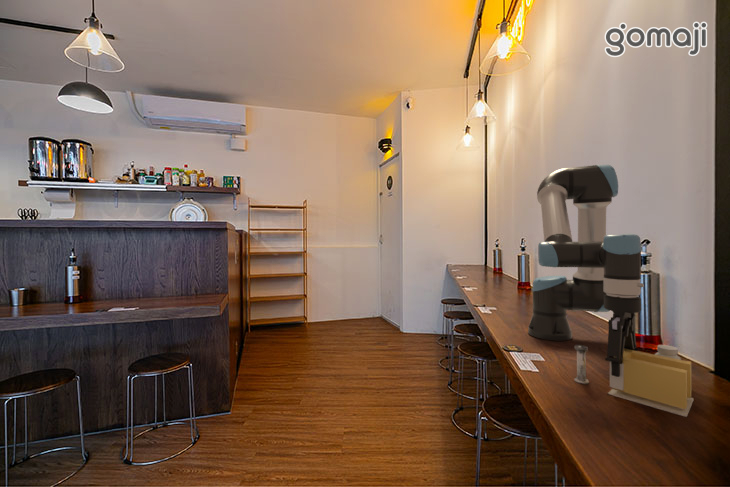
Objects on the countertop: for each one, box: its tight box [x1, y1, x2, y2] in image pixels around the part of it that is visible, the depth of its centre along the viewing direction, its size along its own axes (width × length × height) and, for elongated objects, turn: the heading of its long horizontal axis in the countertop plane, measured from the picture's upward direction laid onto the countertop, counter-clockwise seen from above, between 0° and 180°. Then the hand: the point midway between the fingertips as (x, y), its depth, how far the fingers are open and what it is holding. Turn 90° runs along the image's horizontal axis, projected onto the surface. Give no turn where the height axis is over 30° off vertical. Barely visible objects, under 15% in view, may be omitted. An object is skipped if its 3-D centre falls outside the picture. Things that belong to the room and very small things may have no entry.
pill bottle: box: [654, 344, 682, 360], centre depth 87 cm, size 5×5×10 cm
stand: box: [574, 344, 589, 385], centre depth 89 cm, size 3×3×10 cm
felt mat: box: [607, 387, 694, 418], centre depth 80 cm, size 11×14×1 cm
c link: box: [613, 349, 692, 409], centre depth 80 cm, size 13×9×8 cm
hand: (622, 382), depth 84 cm, fingers closed on c link, 9 cm apart
